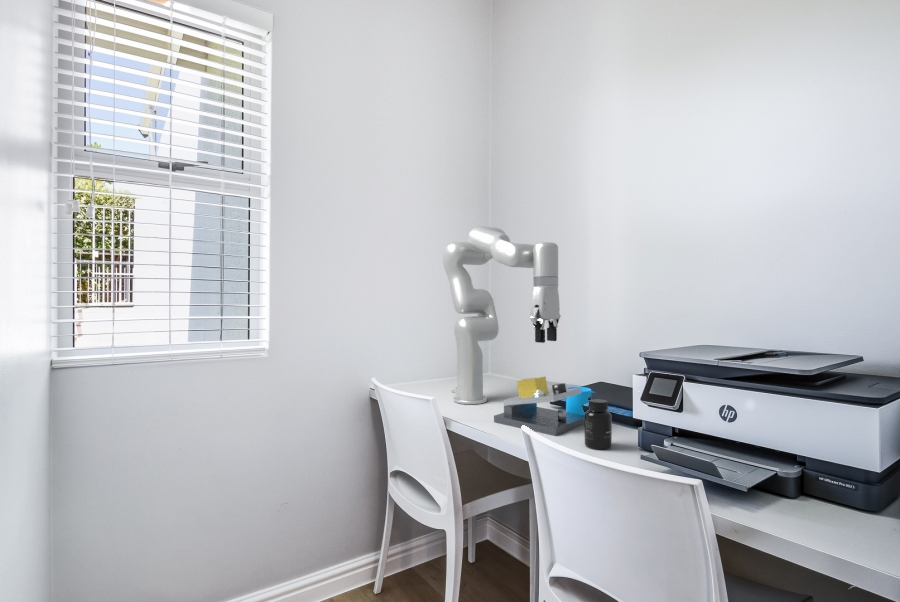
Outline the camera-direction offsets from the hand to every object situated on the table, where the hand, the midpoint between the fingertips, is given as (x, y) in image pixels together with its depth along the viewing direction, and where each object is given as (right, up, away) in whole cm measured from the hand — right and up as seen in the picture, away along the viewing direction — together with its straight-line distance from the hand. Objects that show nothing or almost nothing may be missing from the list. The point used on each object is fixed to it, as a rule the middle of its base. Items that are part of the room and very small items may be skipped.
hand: (546, 341), depth 149 cm
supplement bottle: (+9, -26, -22) cm, 35 cm away
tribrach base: (-1, -26, +2) cm, 26 cm away
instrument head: (-1, -18, +1) cm, 18 cm away
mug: (+15, -26, +14) cm, 33 cm away
